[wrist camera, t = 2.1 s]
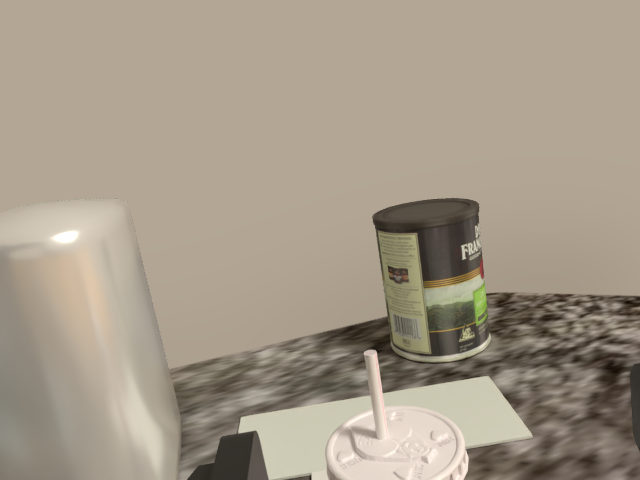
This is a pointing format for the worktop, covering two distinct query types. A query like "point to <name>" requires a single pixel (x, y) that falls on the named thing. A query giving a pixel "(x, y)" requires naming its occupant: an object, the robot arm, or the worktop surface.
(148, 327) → the white canister
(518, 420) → the t mat
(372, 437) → the smoothie
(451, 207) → the coffee can
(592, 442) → the worktop surface
